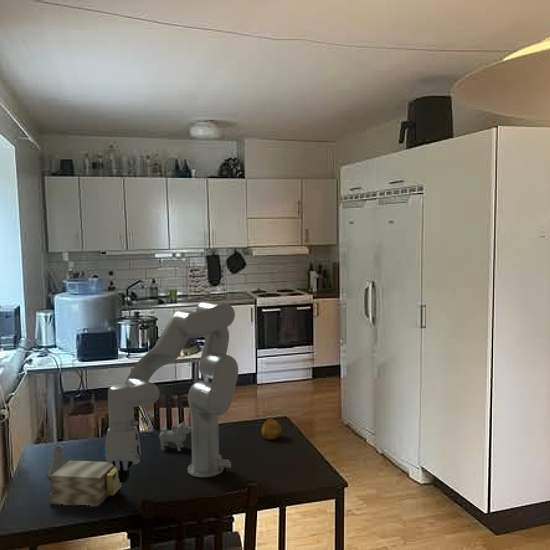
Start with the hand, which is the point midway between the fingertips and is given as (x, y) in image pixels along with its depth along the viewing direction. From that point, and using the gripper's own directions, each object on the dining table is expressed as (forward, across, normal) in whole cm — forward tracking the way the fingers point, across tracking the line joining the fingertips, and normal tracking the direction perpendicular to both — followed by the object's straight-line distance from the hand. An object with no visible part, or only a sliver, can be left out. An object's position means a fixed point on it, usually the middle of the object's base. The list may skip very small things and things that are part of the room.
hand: (123, 480), depth 170 cm
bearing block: (+5, +13, 0) cm, 14 cm away
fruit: (+6, -40, -56) cm, 69 cm away
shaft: (+3, +12, 0) cm, 13 cm away
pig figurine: (+6, -4, -41) cm, 42 cm away
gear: (+6, +13, -22) cm, 26 cm away
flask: (+5, +29, -13) cm, 32 cm away
